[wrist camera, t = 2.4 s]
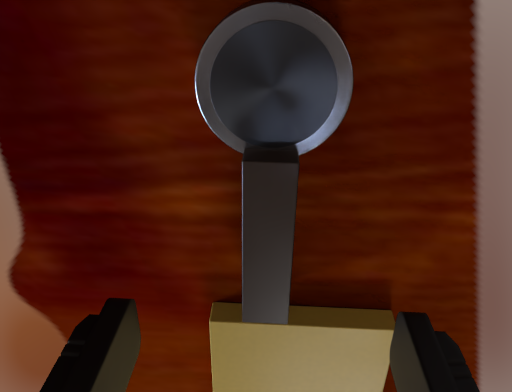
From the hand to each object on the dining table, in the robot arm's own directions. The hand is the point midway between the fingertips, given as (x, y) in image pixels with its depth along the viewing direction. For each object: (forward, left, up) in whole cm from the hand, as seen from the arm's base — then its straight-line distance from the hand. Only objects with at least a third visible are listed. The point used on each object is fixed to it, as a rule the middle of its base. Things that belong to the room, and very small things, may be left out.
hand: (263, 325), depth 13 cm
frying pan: (-1, 0, -9) cm, 9 cm away
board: (+15, +2, -9) cm, 18 cm away
